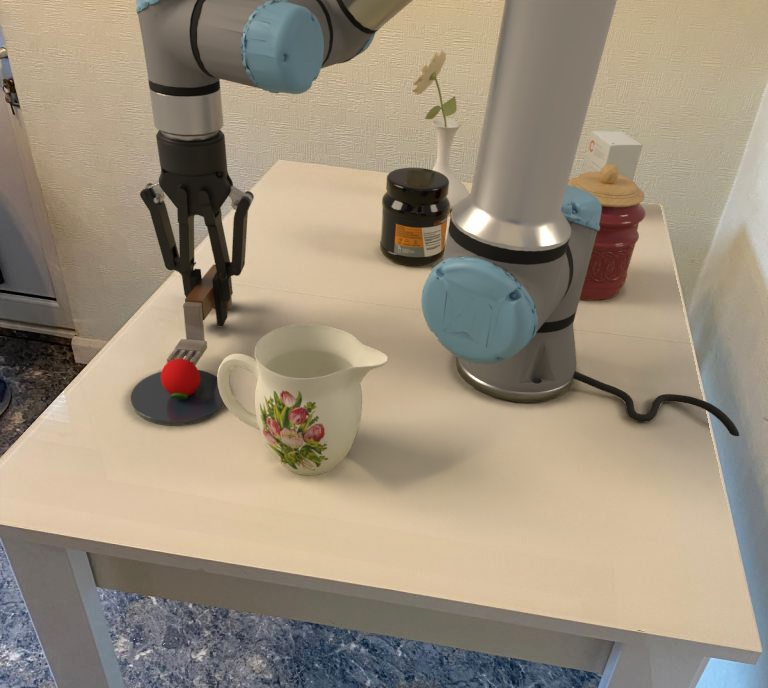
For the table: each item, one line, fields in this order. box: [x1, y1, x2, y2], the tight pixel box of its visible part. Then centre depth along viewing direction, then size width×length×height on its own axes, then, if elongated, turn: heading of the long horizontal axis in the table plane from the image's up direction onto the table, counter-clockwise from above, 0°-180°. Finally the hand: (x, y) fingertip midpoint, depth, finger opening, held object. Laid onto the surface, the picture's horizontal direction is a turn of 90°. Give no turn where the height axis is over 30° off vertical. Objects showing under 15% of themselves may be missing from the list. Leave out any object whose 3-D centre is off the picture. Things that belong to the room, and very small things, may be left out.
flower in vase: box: [412, 49, 470, 211], centre depth 127 cm, size 13×11×25 cm
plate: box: [130, 369, 225, 426], centre depth 87 cm, size 11×11×1 cm
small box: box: [581, 130, 643, 181], centre depth 134 cm, size 8×6×13 cm
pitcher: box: [216, 323, 389, 476], centre depth 76 cm, size 11×18×14 cm, turn 75°
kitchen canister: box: [567, 164, 646, 301], centre depth 110 cm, size 13×13×18 cm
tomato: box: [160, 358, 200, 399], centre depth 85 cm, size 4×4×4 cm
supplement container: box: [379, 167, 450, 267], centre depth 116 cm, size 10×10×12 cm
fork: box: [166, 264, 233, 366], centre depth 94 cm, size 21×3×6 cm, turn 176°
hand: (211, 320), depth 98 cm, fingers closed on fork, 2 cm apart
